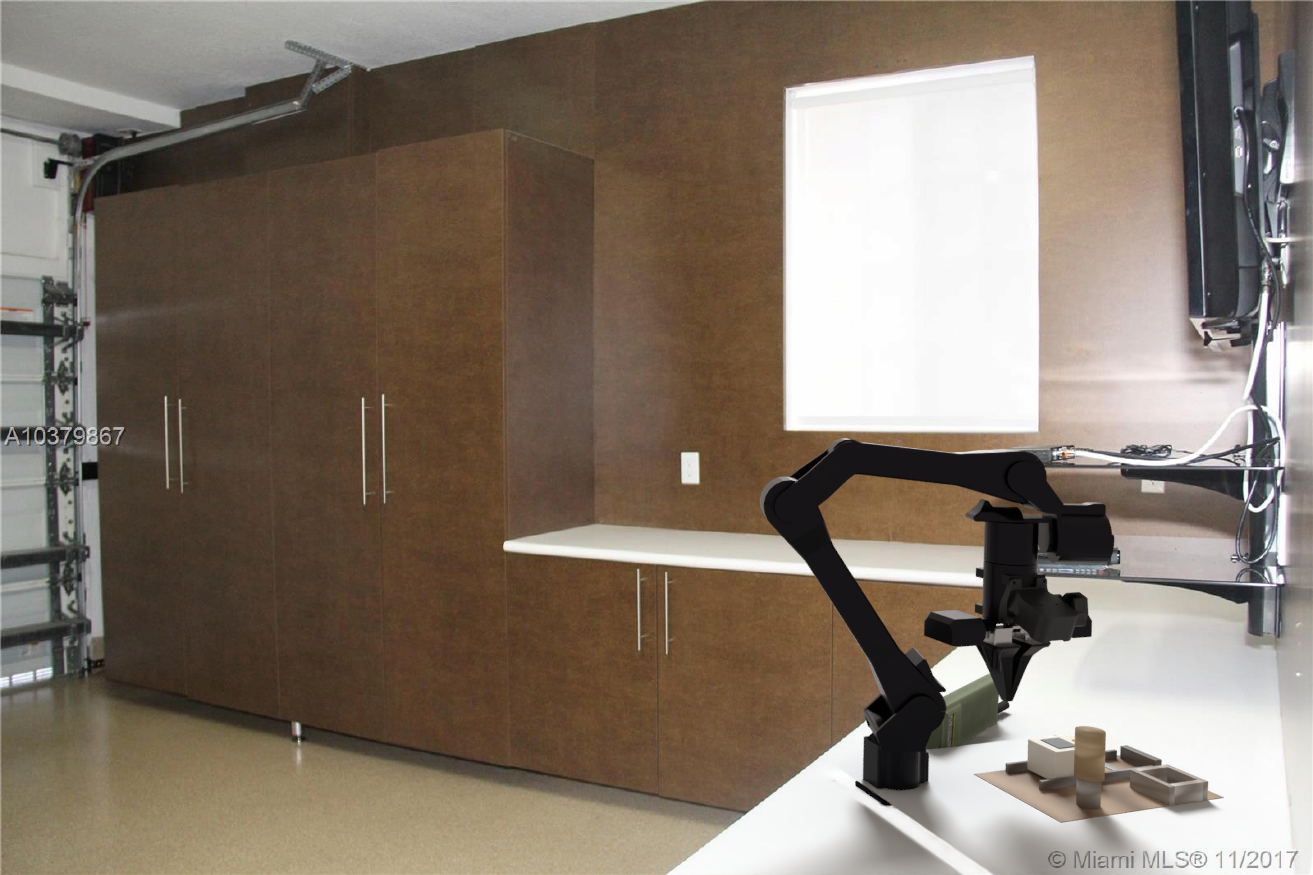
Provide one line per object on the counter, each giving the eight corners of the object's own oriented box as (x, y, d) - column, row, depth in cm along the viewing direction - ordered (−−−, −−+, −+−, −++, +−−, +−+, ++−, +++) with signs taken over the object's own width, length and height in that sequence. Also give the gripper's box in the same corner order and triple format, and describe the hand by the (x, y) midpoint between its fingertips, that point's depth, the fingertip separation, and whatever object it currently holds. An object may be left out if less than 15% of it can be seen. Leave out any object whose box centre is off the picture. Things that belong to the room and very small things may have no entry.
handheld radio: (918, 754, 126) (993, 710, 145) (942, 761, 124) (1015, 716, 143) (921, 702, 125) (995, 665, 145) (946, 709, 123) (1018, 670, 143)
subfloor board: (1060, 836, 101) (1061, 802, 101) (973, 786, 114) (974, 756, 114) (1223, 810, 109) (1224, 779, 109) (1123, 766, 122) (1124, 738, 122)
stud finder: (1055, 783, 111) (1056, 751, 111) (1027, 768, 115) (1028, 738, 115) (1098, 777, 113) (1098, 745, 113) (1068, 763, 117) (1069, 733, 117)
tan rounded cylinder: (1087, 812, 104) (1089, 736, 104) (1066, 801, 107) (1068, 727, 106) (1110, 808, 105) (1112, 733, 105) (1089, 798, 108) (1091, 725, 107)
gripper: (987, 577, 100) (983, 730, 101) (1132, 570, 106) (1128, 714, 107) (922, 560, 111) (919, 699, 111) (1058, 555, 117) (1054, 686, 117)
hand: (1006, 700), depth 111 cm, fingers closed
